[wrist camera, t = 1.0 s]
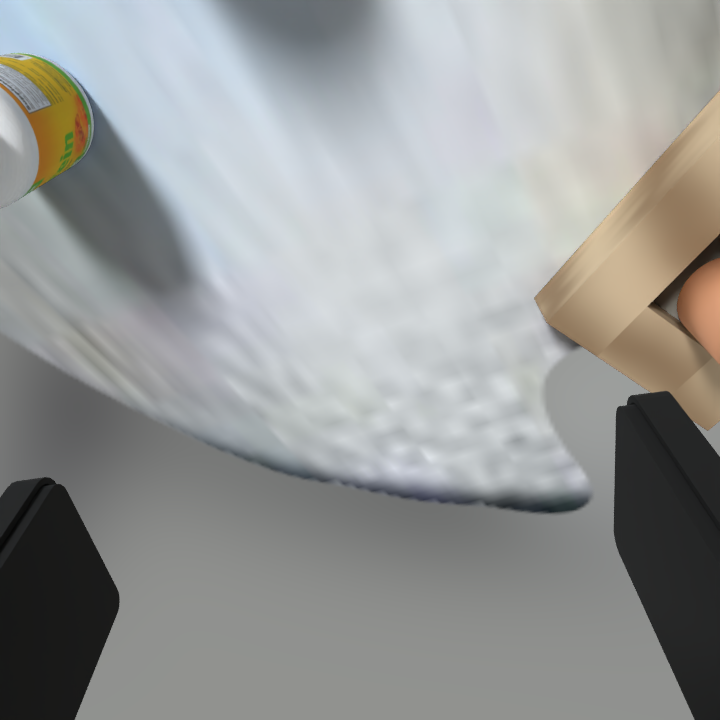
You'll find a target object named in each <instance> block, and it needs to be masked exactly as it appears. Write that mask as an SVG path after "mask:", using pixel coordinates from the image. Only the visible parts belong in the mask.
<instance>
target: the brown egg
mask: <svg viewBox="0 0 720 720" xmlns="http://www.w3.org/2000/svg"><path fill="white" fill-rule="evenodd" d="M677 312H678V316H679V319H680V321H681V323H682V324H683V325H684V326H685V328H686V329H687V330H688V331H689V332H690V333H691V334H692V335H693V336H694V337H695V338H696V340H697V341H698V342H699V343H700V344H701V345H702V346H703V347H704V348H705V349H706V350H707V352H708V353H709V354H710V355H711V356H712V357H713V358H714V359H715V360H716V361H717V362H718V363H719V365H720V258H717V259H714V260H712V261H710V262H708V263H706V264H704V265H703V266H701V267H700V268H699V269H697V270H696V271H695V272H694V273H693V274H692V275H691V276H690V277H689V278H688V279H687V281H686V282H685V283H684V285H683V287H682V289H681V291H680V293H679V297H678V301H677Z"/></svg>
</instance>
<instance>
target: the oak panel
mask: <svg viewBox="0 0 720 720" xmlns="http://www.w3.org/2000/svg"><path fill="white" fill-rule="evenodd" d="M719 234H720V91H719V92H718V93H717V94H716V95H715V96H714V97H713V98H712V100H711V101H710V102H709V103H708V104H707V105H706V106H705V107H704V109H703V110H702V111H701V112H700V113H699V114H698V115H697V116H696V118H695V119H694V120H693V121H692V122H691V123H690V124H689V125H688V126H687V128H686V129H685V130H684V131H683V132H682V133H681V134H680V135H679V137H678V138H677V139H676V140H675V141H674V142H673V143H672V144H671V146H670V147H669V148H668V149H667V150H666V151H665V152H664V153H663V154H662V156H661V157H660V158H659V159H658V160H657V161H656V162H655V163H654V165H653V166H652V167H651V168H650V169H649V170H648V171H647V172H646V174H645V175H644V176H643V177H642V178H641V179H640V180H639V181H638V182H637V184H636V185H635V186H634V187H633V188H632V189H631V190H630V191H629V193H628V194H627V195H626V196H625V197H624V198H623V199H622V200H621V201H620V203H619V204H618V205H617V206H616V207H615V208H614V209H613V210H612V212H611V213H610V214H609V215H608V216H607V217H606V218H605V219H604V221H603V222H602V223H601V224H600V225H599V226H598V227H597V228H596V229H595V231H594V232H593V233H592V234H591V235H590V236H589V237H588V238H587V240H586V241H585V242H584V243H583V244H582V245H581V246H580V247H579V249H578V250H577V251H576V252H575V253H574V254H573V255H572V256H571V257H570V259H569V260H568V261H567V262H566V263H565V264H564V265H563V266H562V268H561V269H560V270H559V271H558V272H557V273H556V274H555V275H554V277H553V278H552V279H551V280H550V281H549V282H548V283H547V284H546V285H545V287H544V288H543V289H542V290H541V291H540V292H539V293H538V294H537V296H536V297H535V298H534V299H535V301H536V303H537V305H538V307H539V308H540V310H541V312H542V314H543V316H544V318H545V320H546V322H547V323H548V324H549V325H551V326H552V327H554V328H555V329H557V330H558V331H560V332H561V333H563V334H564V335H566V336H567V337H569V338H570V339H572V340H573V341H575V342H576V343H578V344H579V345H581V346H582V347H584V348H585V349H587V350H588V351H590V352H591V353H593V354H594V355H596V356H597V357H598V358H600V359H602V360H603V361H605V362H606V363H608V364H609V365H610V366H612V367H614V368H615V369H616V370H618V371H619V372H621V373H622V374H624V375H625V376H627V377H628V378H630V379H631V380H633V381H634V382H636V383H637V384H639V385H640V386H642V387H643V388H645V389H646V390H648V391H649V392H651V393H653V392H660V391H668V392H670V393H671V394H672V395H673V397H674V398H675V399H676V400H677V402H678V403H679V404H680V406H681V407H682V408H683V410H684V411H685V412H686V414H687V415H688V416H689V417H690V419H691V420H692V421H694V422H695V423H697V424H698V425H700V426H701V427H703V428H704V429H706V430H709V429H711V428H712V427H713V426H714V425H715V424H716V423H718V422H719V421H720V365H719V363H718V362H717V361H716V360H715V359H714V358H713V357H712V356H711V355H710V354H709V353H708V352H707V350H706V349H705V348H704V347H703V346H702V345H701V344H700V343H699V342H698V341H697V340H696V338H695V337H694V336H693V335H692V334H691V333H690V332H689V331H688V330H687V329H686V328H685V326H684V325H683V324H682V323H681V322H680V321H678V320H677V319H676V318H674V317H673V316H672V315H670V314H669V313H667V312H666V311H665V310H663V309H662V308H661V307H659V306H658V305H656V304H655V303H654V302H652V301H653V300H654V299H655V298H656V297H657V296H658V295H659V294H660V293H661V292H662V291H663V290H664V289H665V288H666V287H667V286H668V285H669V284H670V283H671V282H672V281H673V280H674V279H675V278H676V277H677V276H678V275H679V274H680V273H681V272H682V271H683V270H684V269H685V268H686V267H687V266H688V265H689V264H690V263H691V262H692V261H693V260H694V259H695V258H696V257H697V256H698V255H699V254H700V253H701V252H702V251H703V250H704V249H705V248H706V247H707V246H708V245H709V244H710V243H711V242H712V241H713V240H714V239H715V238H716V237H717V236H718V235H719Z"/></svg>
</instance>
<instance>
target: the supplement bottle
mask: <svg viewBox="0 0 720 720" xmlns="http://www.w3.org/2000/svg"><path fill="white" fill-rule="evenodd" d="M93 134H94V118H93V113H92V109H91V106H90V103H89V101H88V98H87V96H86V94H85V92H84V91H83V89H82V88H81V86H80V85H79V84H78V82H77V81H76V80H75V79H74V78H73V77H72V76H71V75H70V74H69V73H68V72H67V71H66V70H65V69H64V68H62V67H61V66H60V65H58V64H57V63H55V62H53V61H51V60H49V59H47V58H44V57H41V56H38V55H34V54H29V53H11V54H5V55H0V208H3V207H6V206H8V205H10V204H12V203H13V202H15V201H17V200H19V199H20V198H22V197H24V196H25V195H27V194H28V193H30V192H31V191H33V190H35V189H36V188H38V187H40V186H41V185H43V184H44V183H46V182H48V181H49V180H51V179H53V178H54V177H56V176H58V175H59V174H61V173H63V172H64V171H66V170H68V169H69V168H71V167H72V166H74V165H75V164H76V163H78V162H79V161H80V160H81V159H82V158H83V157H84V156H85V154H86V153H87V151H88V149H89V147H90V145H91V142H92V139H93Z"/></svg>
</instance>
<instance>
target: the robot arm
mask: <svg viewBox="0 0 720 720" xmlns="http://www.w3.org/2000/svg"><path fill="white" fill-rule="evenodd" d="M615 447H616V449H615V450H616V451H615V495H614V536H615V541H616V545H617V548H618V551H619V554H620V556H621V558H622V560H623V563H624V565H625V567H626V569H627V572H628V574H629V576H630V578H631V580H632V583H633V585H634V587H635V589H636V591H637V593H638V596H639V598H640V600H641V602H642V604H643V606H644V609H645V611H646V613H647V615H648V618H649V620H650V622H651V624H652V626H653V629H654V631H655V633H656V635H657V638H658V640H659V642H660V644H661V646H662V649H663V651H664V653H665V655H666V657H667V660H668V662H669V664H670V666H671V668H672V671H673V673H674V675H675V677H676V679H677V681H678V684H679V686H680V688H681V690H682V693H683V695H684V697H685V699H686V701H687V704H688V706H689V708H690V710H691V713H692V715H693V717H694V719H695V720H720V457H719V455H718V454H717V453H716V451H715V450H714V449H713V448H712V446H711V445H710V444H709V442H708V441H707V440H706V438H705V437H704V436H703V434H702V433H701V432H700V430H699V429H698V428H697V427H696V426H695V424H694V423H693V421H692V420H691V419H690V417H689V416H688V415H687V414H686V412H685V411H684V410H683V408H682V407H681V406H680V404H679V403H678V402H677V400H676V399H675V398H674V397H673V395H672V394H671V393H670V392H668V391H660V392H653V393H647V394H639V395H632V396H630V397H629V398H628V401H627V405H626V406H619V407H618V408H617V411H616V446H615ZM118 609H119V592H118V590H117V588H116V586H115V584H114V582H113V580H112V578H111V576H110V574H109V572H108V570H107V568H106V567H105V564H104V562H103V560H102V558H101V556H100V554H99V552H98V551H97V549H96V547H95V545H94V543H93V541H92V539H91V537H90V535H89V533H88V531H87V529H86V527H85V525H84V523H83V521H82V519H81V518H80V515H79V514H78V512H77V510H76V508H75V506H74V504H73V502H72V500H71V498H70V496H69V494H68V492H67V490H66V489H65V487H64V486H62V485H61V484H56V483H55V481H54V480H52V479H51V478H46V477H44V478H37V479H30V480H22V481H16V482H14V483H12V484H11V485H10V486H9V487H8V488H7V489H6V490H5V492H4V493H3V495H2V496H1V497H0V720H75V717H76V715H77V712H78V710H79V707H80V705H81V702H82V700H83V697H84V695H85V692H86V690H87V687H88V685H89V682H90V680H91V677H92V675H93V672H94V670H95V667H96V665H97V662H98V660H99V657H100V655H101V652H102V650H103V647H104V645H105V643H106V640H107V638H108V635H109V633H110V630H111V627H112V625H113V623H114V620H115V618H116V615H117V613H118Z"/></svg>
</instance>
